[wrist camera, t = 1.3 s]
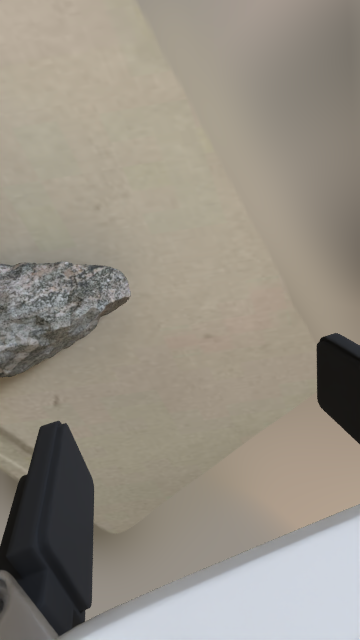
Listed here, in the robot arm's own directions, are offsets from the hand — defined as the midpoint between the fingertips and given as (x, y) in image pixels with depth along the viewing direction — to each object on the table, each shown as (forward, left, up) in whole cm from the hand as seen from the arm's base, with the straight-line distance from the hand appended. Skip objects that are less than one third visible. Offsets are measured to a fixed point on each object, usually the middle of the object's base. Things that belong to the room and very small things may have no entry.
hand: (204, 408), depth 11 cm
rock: (+1, -10, -25) cm, 27 cm away
